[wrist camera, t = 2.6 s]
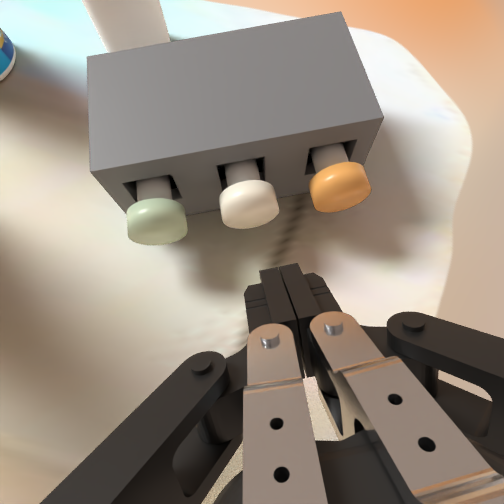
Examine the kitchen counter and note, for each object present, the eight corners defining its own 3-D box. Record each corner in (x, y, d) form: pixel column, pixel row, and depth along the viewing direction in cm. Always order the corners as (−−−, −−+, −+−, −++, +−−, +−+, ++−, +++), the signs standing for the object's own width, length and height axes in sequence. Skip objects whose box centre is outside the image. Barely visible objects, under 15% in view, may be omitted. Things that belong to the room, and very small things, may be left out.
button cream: (226, 232, 26) (218, 207, 22) (216, 177, 28) (208, 145, 24) (278, 222, 26) (280, 196, 22) (265, 168, 28) (264, 135, 24)
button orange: (310, 216, 26) (317, 189, 22) (296, 162, 28) (300, 128, 24) (362, 206, 26) (378, 177, 23) (344, 153, 28) (356, 118, 24)
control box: (135, 225, 29) (89, 171, 22) (128, 130, 33) (86, 56, 25) (355, 183, 30) (383, 117, 22) (324, 94, 33) (341, 11, 26)
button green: (139, 249, 26) (118, 226, 22) (135, 192, 28) (114, 163, 24) (192, 239, 26) (180, 215, 22) (185, 183, 28) (171, 152, 24)
